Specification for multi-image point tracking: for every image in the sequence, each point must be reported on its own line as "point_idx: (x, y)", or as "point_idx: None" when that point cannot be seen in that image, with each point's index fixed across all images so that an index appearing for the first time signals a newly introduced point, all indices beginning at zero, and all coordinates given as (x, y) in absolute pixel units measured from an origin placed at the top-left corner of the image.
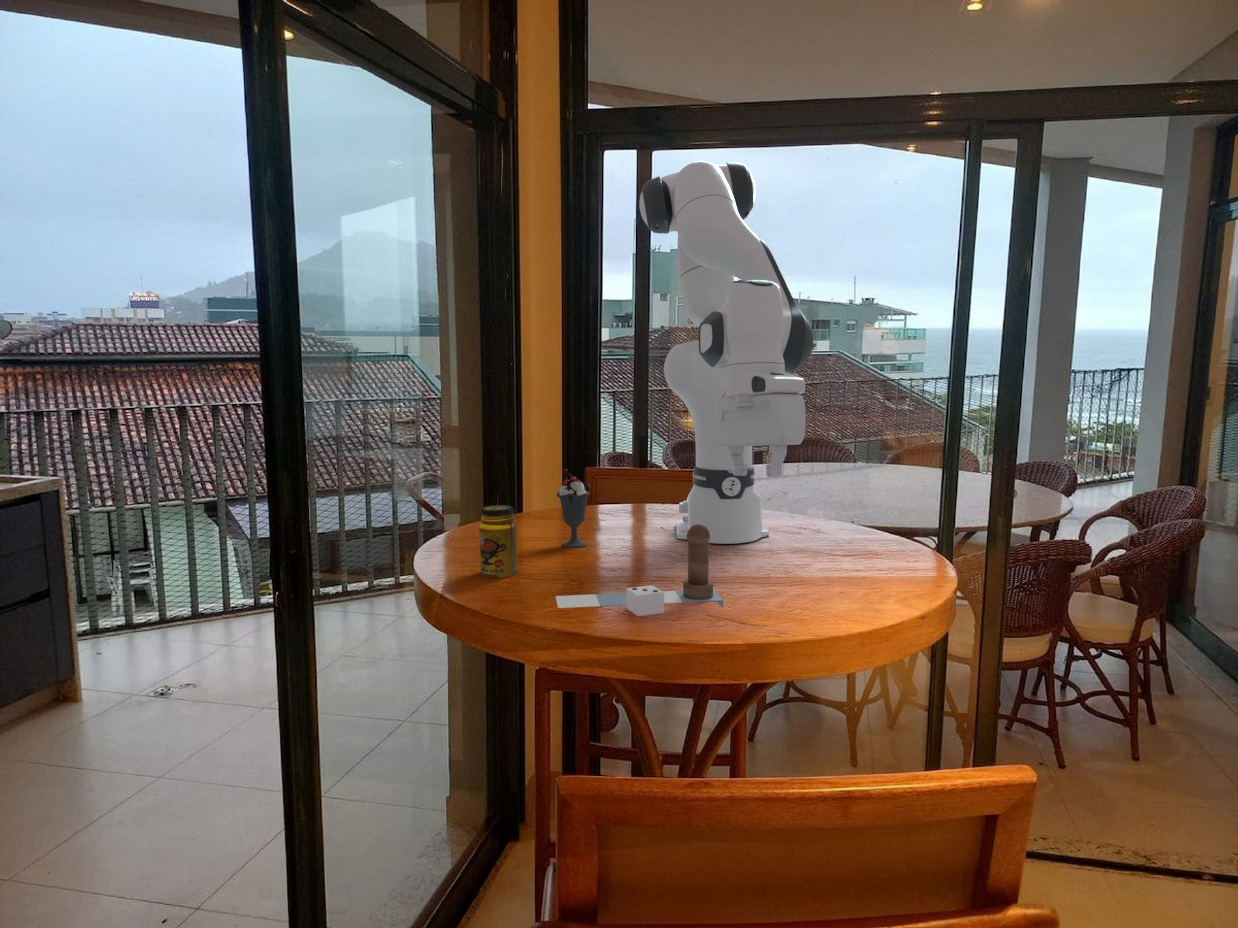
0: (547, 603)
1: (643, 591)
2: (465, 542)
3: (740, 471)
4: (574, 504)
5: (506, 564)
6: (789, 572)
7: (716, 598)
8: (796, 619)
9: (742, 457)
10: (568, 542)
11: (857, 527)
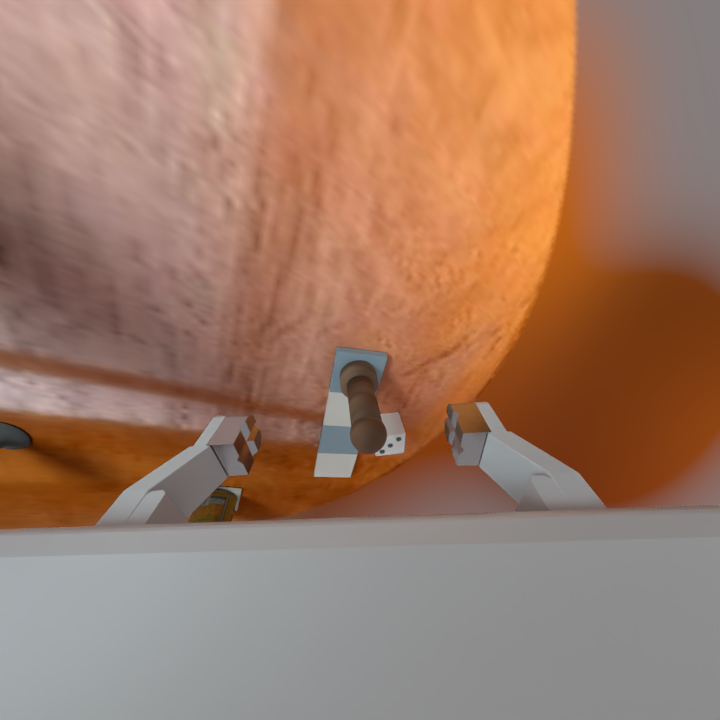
0: None
1: (393, 446)
2: (27, 521)
3: (254, 443)
4: None
5: (230, 513)
6: (216, 142)
7: (378, 361)
8: (469, 293)
9: (174, 473)
10: (10, 446)
11: None
